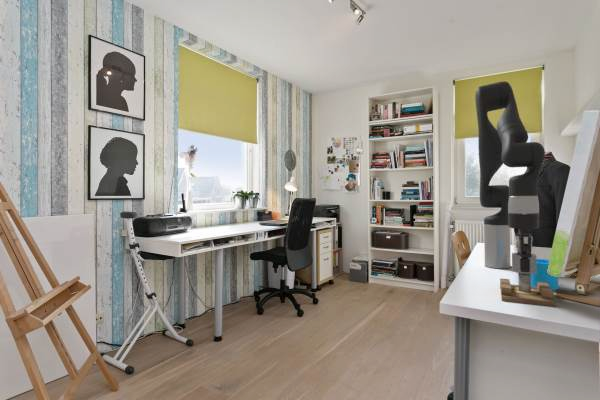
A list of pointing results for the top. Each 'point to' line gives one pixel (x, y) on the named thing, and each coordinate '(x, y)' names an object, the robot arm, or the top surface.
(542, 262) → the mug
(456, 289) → the top surface
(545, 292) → the shaft stand
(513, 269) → the hub
